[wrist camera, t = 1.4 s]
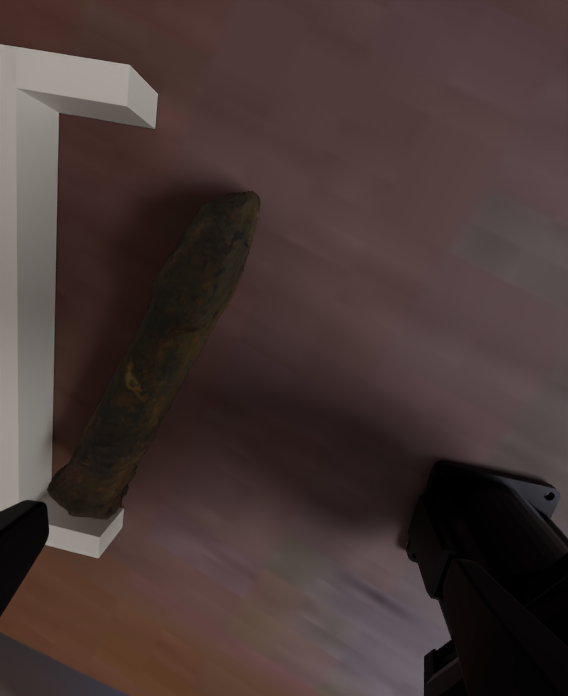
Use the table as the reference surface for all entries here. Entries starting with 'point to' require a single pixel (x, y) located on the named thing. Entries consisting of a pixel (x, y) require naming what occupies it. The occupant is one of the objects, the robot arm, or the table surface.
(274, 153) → the table surface
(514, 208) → the table surface
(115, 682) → the table surface
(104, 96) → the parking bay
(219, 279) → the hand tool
